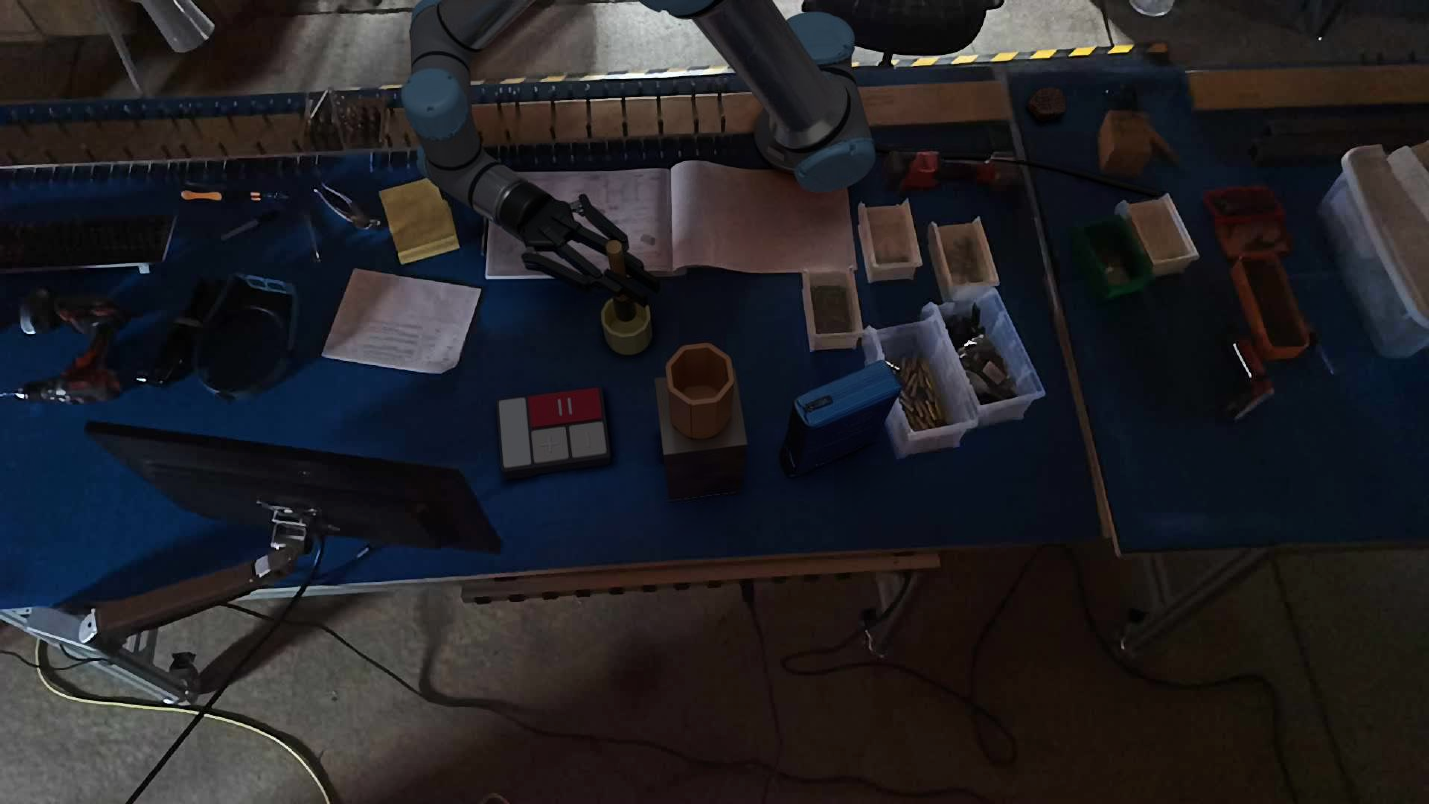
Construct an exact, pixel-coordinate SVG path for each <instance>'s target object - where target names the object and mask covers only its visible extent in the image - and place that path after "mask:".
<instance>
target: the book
mask: <svg viewBox="0 0 1429 804" xmlns="http://www.w3.org/2000/svg"><path fill="white" fill-rule="evenodd" d="M902 391H903V386H902V384H901V383H899V381H898V379H897V377H896V374H895V372H894V370H893V369H892V368H891V367H890V365H889V364H888V362H887V361H886V360H885V359H879V360H876V361H875V362H873V363H870V364H868V365H867V366H865V367H864V368H861V369H859V370H857V371H856V370H855V371H853V372H851V373H849V374H847V375H844V376H842V377H840V378H838V379H835V380H832V381H829V382H828V383H825V384H822V385H821V386H819V387H817V388H814V389H811V390H808V391H807V392H805V393H804V394H801V395H799V396H797V398H795V399H794V402H793V403H792V406H791V411H790V415H789V420H788V425H787V426H788V427H787V430H786V434H785V436H784V437H785V438H784V440H783V442H782V446H781V449H780V451H779V456H778V458H779V461H780V460H781V462H780V464H782V465H781V466H782V468H783V472H784V473H785V474H786V475H787V477H788V478H796V477H799V476H802V475H804V474H806V473H808V472H810V471H813V470H815V469H817V468H818V467H822V466H824V465H826V464H829V463H831V462H834V461H837V460H839V459H841V458H843V457H845V456H847V455H848V454H852V453H853V452H855V451H858V450H860V449H863V448H864V447H865V446H868V445H870V444H873V443H874V442H875V441H877V439H878V437H879V435H880V434H881V431H882V429H883V427H884V425H885V423H886V420H887V419H888V417H889V415H890V413H891V411H892V409H893V406H894V405H895V403H896V401H897V400H898V398H899V396H900V394H901V392H902ZM859 447H861V448H859ZM858 448H859V449H858ZM856 449H857V450H856ZM854 450H855V451H854ZM830 460H831V461H830ZM828 461H830V462H828ZM826 462H827V463H826ZM821 463H825V464H822V465H820V464H821ZM816 464H818V465H819V466H815V465H816ZM811 468H812V469H811ZM808 470H809V471H808ZM806 471H807V472H806ZM786 472H787V473H786ZM804 472H805V473H804ZM802 473H803V474H802ZM800 474H801V475H800ZM792 475H795V476H792ZM798 475H799V476H798Z"/></svg>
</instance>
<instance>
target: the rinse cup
mask: <svg viewBox="0 0 1429 804" xmlns="http://www.w3.org/2000/svg"><path fill="white" fill-rule="evenodd" d="M635 306H636V316H635V318H634V319H633V320H631V321H629V322H622V321H620V320H619V319H618V318H617V317H616V314H615V309H614V304H613V299H612V298H610V299H608V300H607V301H606V302H605V304H604V305H603V308H602V309H601V312H600V317H601V325H602V329H603V330H602V331H603V334H604V338H605V341H606V343H607V344H608V346H609V347H610V348H611V350H613V351H614V352H615V353H617V354H620V355H624V356H632V355H637V354H639V353H641V352H643V351H645V349H647V348H648V347H649V345H650V343H651V342H652V339H653V328H652V318H651V312H650V306H649V304H648V305H647V306H646V307H645V308H643V307H642V306H640V305H639V304H637V303H636V302H635Z"/></svg>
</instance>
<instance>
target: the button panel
mask: <svg viewBox="0 0 1429 804" xmlns="http://www.w3.org/2000/svg"><path fill="white" fill-rule="evenodd" d="M603 392H604V391H603V387H602V386H600V385H599V386H590V387H583V388H576V389H575V388H574V389H567V390H566V389H565V390H560V391H551V392H543V393H536V394H535V393H534V394H528V395H519V396H511V397H503V398H498V399H496V400H495V412H496V425H497V437H498V438H497V439H498V450H499V451H498V452H499V462H500V463H499V464H500V465H499V466H500V471H501V473H502V475H503V477H504V479H506V480H516V479H523V478H531V477H534V476H536V475H542V474H547V473H549V474H550V473H556V472H563V471H571V470H577V469H584V468H590V467H591V468H592V467H598V466H605V465H610V464H612V453H611V452H612V451H611V445H610V437H609V428H608V421H607V415H606V407H605V399H604V393H603Z"/></svg>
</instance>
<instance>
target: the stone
mask: <svg viewBox="0 0 1429 804" xmlns="http://www.w3.org/2000/svg"><path fill="white" fill-rule="evenodd" d="M1026 106H1027V109H1028V110H1029V112H1030V113H1031V114H1033V115H1034V117H1035V119H1036V120H1038V121H1041V122H1045V121H1049V122H1050V121H1053V120H1055V119H1057V118H1059V117H1061V116H1062V115H1064V114H1065V113H1066V112H1067V106H1066V96H1065V95H1064V92H1063V90H1061V89H1059V88H1056V87H1054V86H1050V87H1044V88H1042V87H1040V88H1039V89H1038V90H1037V91H1035V92H1033V94H1032V95H1031V96H1030V97H1029V100H1028V101H1027V104H1026Z"/></svg>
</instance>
